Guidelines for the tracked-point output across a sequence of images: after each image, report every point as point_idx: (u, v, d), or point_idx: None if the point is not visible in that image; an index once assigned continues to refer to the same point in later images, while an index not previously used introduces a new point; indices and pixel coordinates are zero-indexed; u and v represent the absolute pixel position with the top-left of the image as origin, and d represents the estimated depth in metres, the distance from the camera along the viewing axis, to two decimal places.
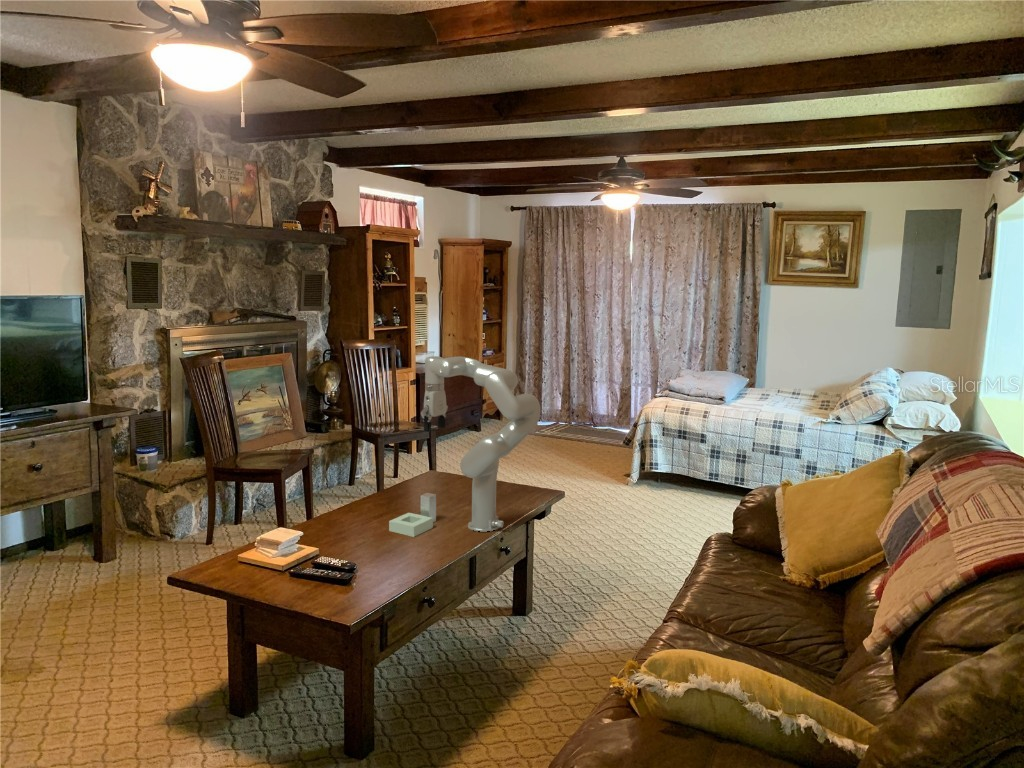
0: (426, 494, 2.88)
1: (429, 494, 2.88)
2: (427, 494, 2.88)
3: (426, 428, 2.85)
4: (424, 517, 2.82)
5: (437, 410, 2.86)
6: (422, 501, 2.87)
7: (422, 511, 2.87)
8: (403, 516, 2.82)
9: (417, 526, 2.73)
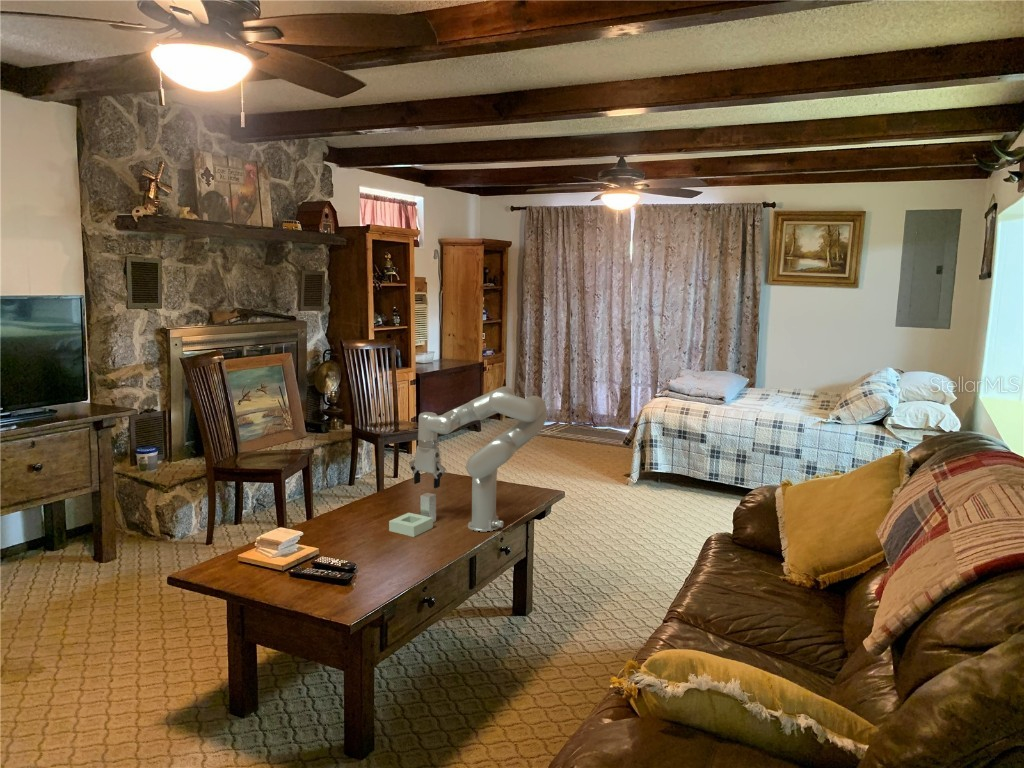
0: (426, 494, 2.88)
1: (429, 494, 2.88)
2: (427, 494, 2.88)
3: (439, 484, 2.84)
4: (424, 517, 2.82)
5: None
6: (422, 501, 2.87)
7: (422, 511, 2.87)
8: (403, 516, 2.82)
9: (417, 526, 2.73)
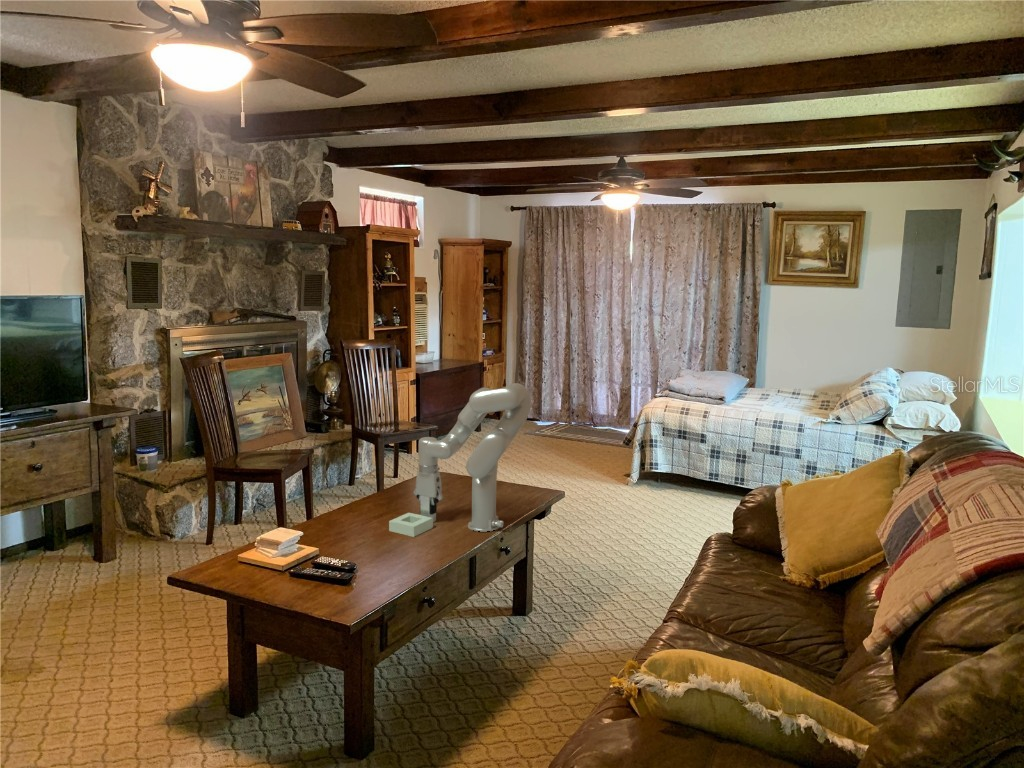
0: None
1: None
2: None
3: (435, 510, 2.87)
4: (424, 517, 2.82)
5: None
6: (422, 501, 2.87)
7: (422, 511, 2.87)
8: (403, 516, 2.82)
9: (417, 526, 2.73)
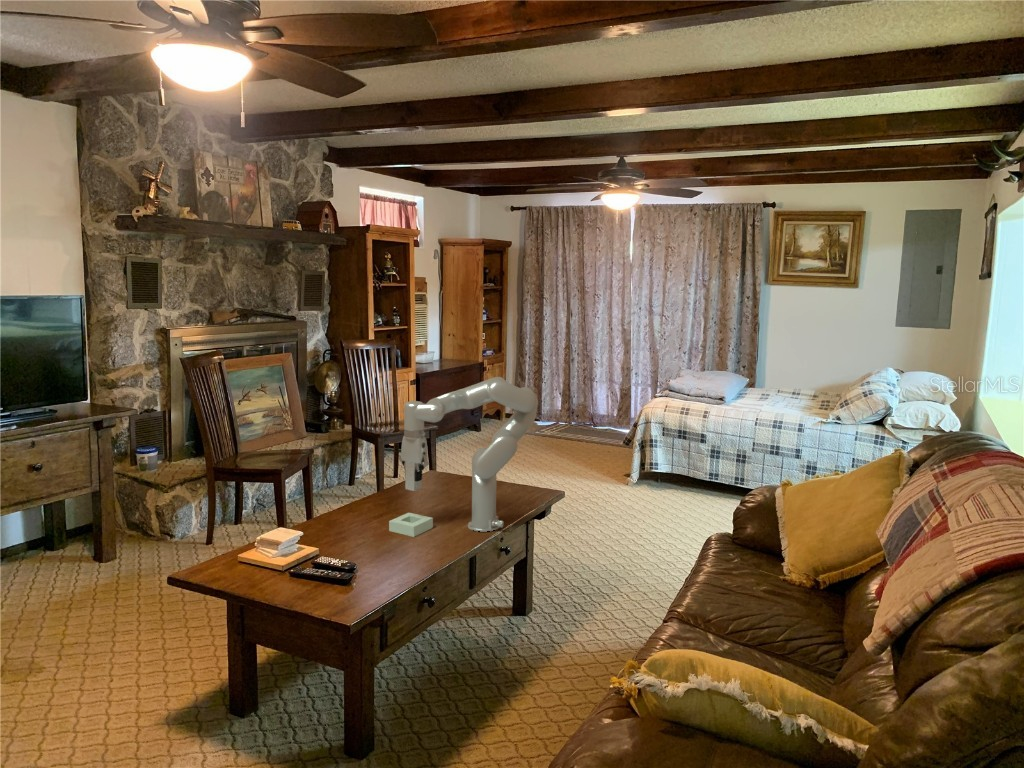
0: None
1: None
2: None
3: (421, 477, 2.77)
4: (424, 517, 2.82)
5: None
6: (407, 467, 2.77)
7: (407, 478, 2.77)
8: (403, 516, 2.82)
9: (417, 526, 2.73)
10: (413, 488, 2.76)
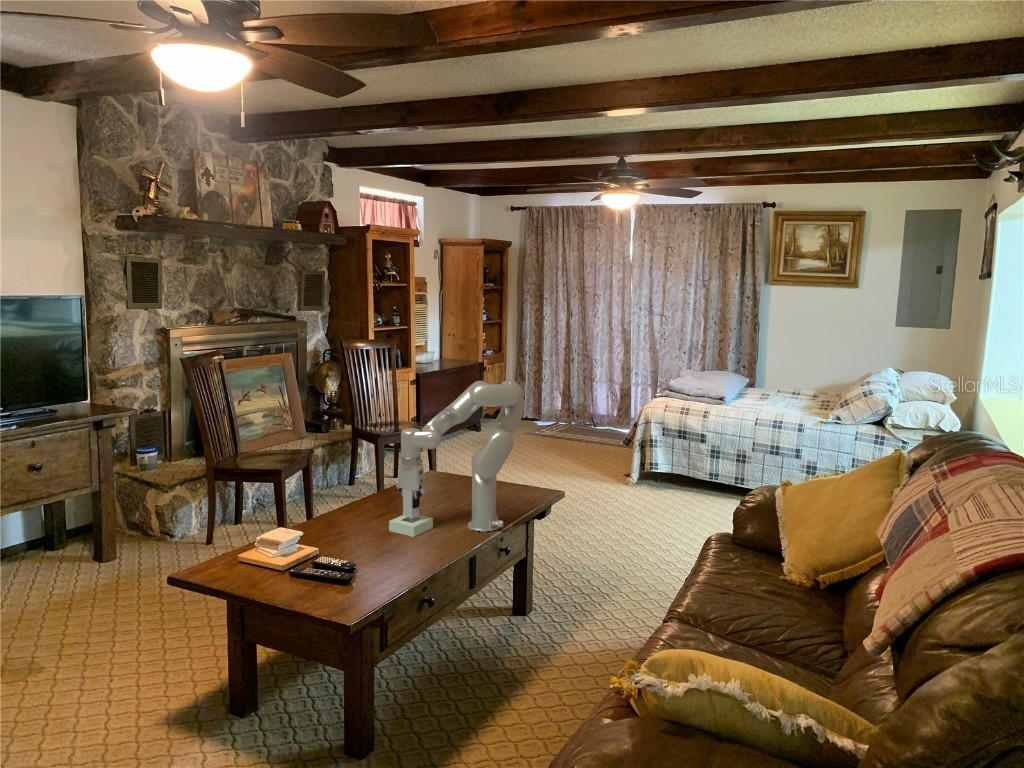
0: None
1: None
2: None
3: (418, 504, 2.77)
4: (424, 517, 2.82)
5: None
6: (404, 494, 2.76)
7: (404, 505, 2.77)
8: (403, 516, 2.82)
9: (417, 526, 2.73)
10: (411, 515, 2.76)
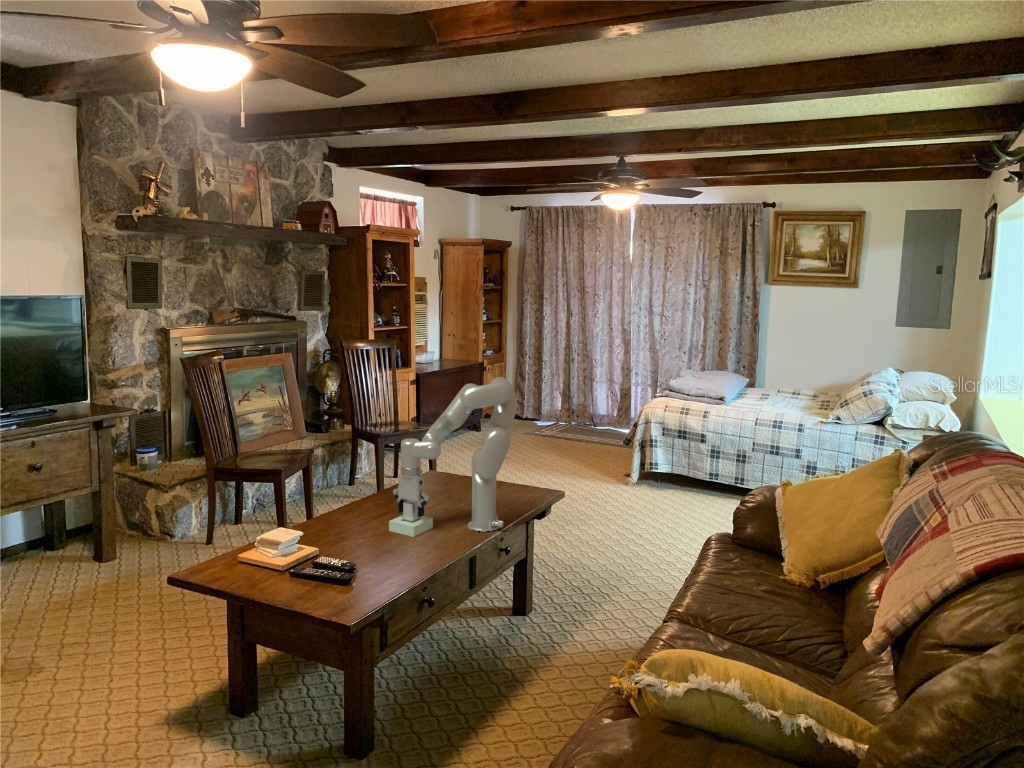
0: (410, 501, 2.78)
1: (412, 501, 2.79)
2: (410, 501, 2.79)
3: (423, 513, 2.76)
4: (424, 517, 2.82)
5: None
6: (405, 508, 2.77)
7: (405, 519, 2.78)
8: None
9: (417, 526, 2.73)
10: None
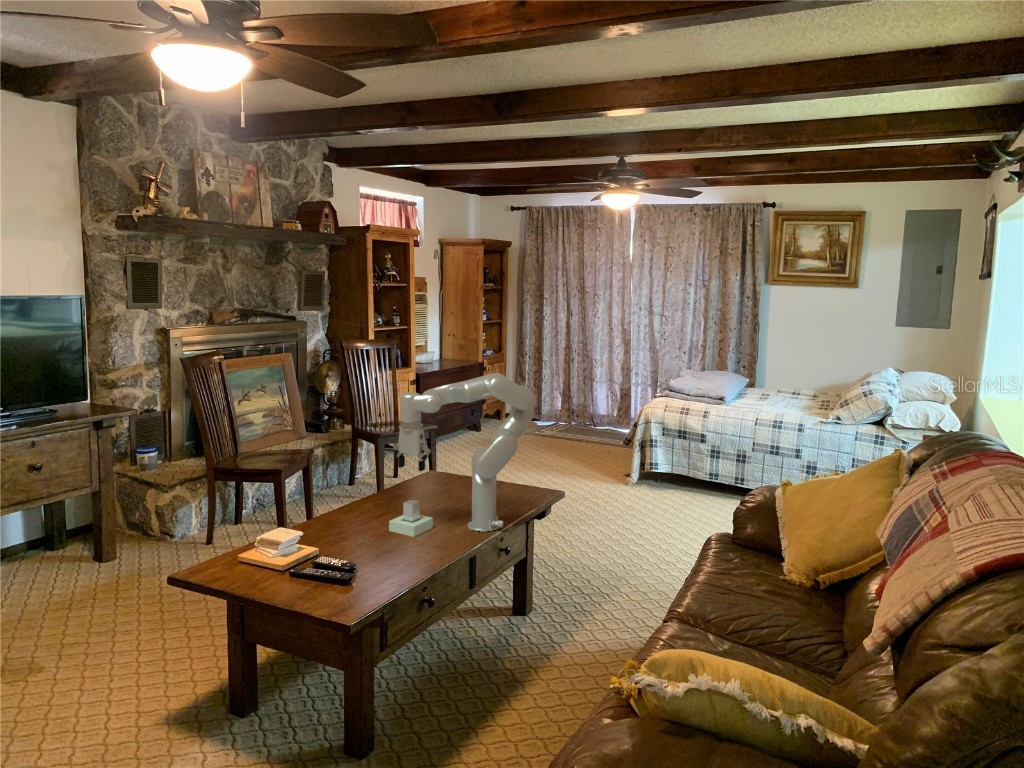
0: (410, 501, 2.78)
1: (412, 501, 2.79)
2: (410, 501, 2.79)
3: (424, 467, 2.73)
4: (424, 517, 2.82)
5: None
6: (405, 508, 2.77)
7: (405, 519, 2.78)
8: None
9: (417, 526, 2.73)
10: None
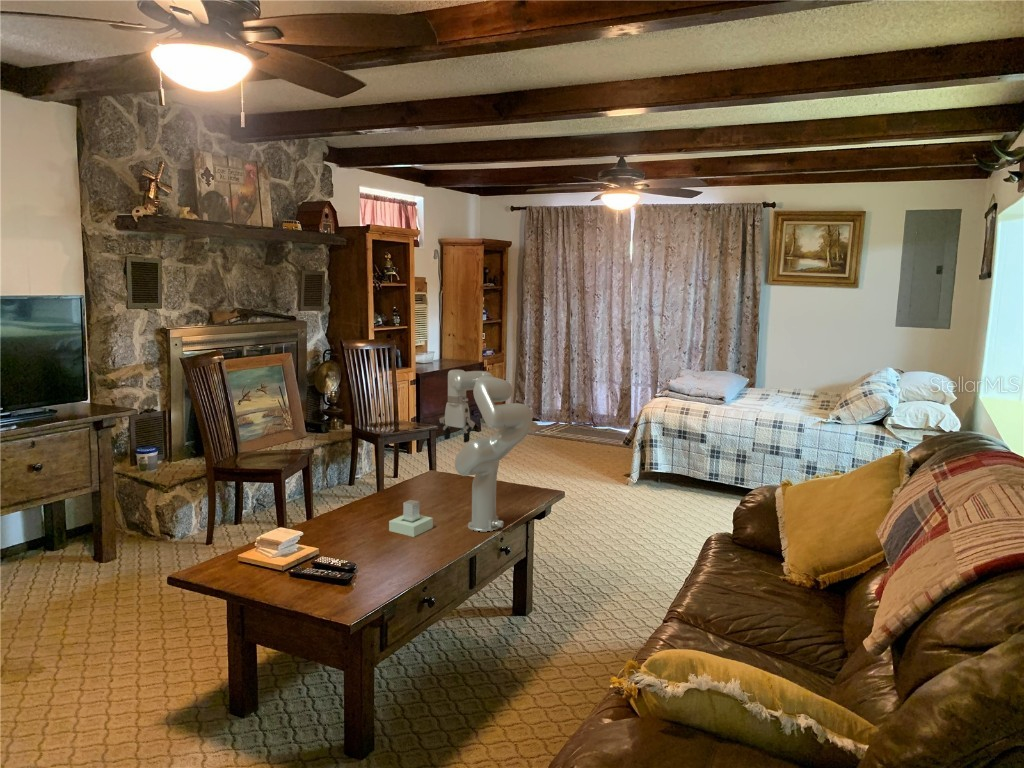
0: (410, 501, 2.78)
1: (412, 501, 2.79)
2: (410, 501, 2.79)
3: (468, 438, 2.95)
4: (424, 517, 2.82)
5: None
6: (405, 508, 2.77)
7: (405, 519, 2.78)
8: None
9: (417, 526, 2.73)
10: None
